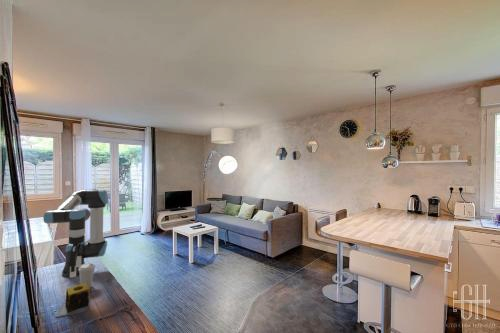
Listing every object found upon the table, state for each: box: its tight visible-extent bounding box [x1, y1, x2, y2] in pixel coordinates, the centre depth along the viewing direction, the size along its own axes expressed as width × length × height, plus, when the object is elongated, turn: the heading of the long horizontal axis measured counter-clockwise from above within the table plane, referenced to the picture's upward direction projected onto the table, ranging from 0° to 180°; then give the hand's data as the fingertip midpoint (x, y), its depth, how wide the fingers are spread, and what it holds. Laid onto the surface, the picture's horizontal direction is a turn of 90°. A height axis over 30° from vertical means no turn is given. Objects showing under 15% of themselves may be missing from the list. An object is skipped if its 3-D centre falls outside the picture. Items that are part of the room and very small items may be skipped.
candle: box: [65, 283, 91, 312], centre depth 134 cm, size 10×10×10 cm
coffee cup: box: [78, 262, 96, 289], centre depth 155 cm, size 10×10×15 cm
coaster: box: [54, 297, 92, 319], centre depth 133 cm, size 14×14×1 cm
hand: (75, 271), depth 133 cm, fingers open, 13 cm apart
